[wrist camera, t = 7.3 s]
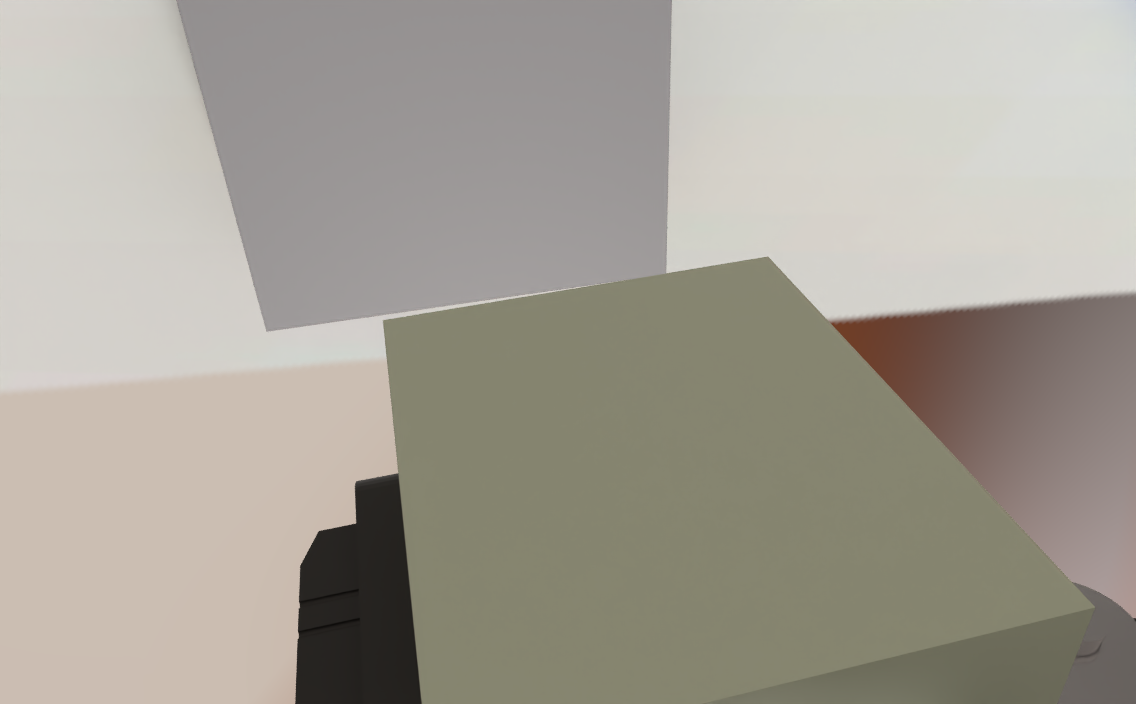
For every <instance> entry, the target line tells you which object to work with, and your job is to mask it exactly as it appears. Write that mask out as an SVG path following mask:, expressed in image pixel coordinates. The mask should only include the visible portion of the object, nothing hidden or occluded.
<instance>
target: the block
mask: <svg viewBox="0 0 1136 704" xmlns="http://www.w3.org/2000/svg"><path fill="white" fill-rule="evenodd" d="M383 325H384V335H385V345H386V355H387V365H388V374H389V384H390V393H391V394H390V395H391V404H392V414H393V424H394V433H395V444H396V453H397V463H398V474H399V484H400V493H401V503H402V513H403V523H404V533H405V543H406V553H407V563H408V573H409V582H410V592H411V602H412V612H413V622H414V632H415V642H416V652H417V662H418V671H419V681H420V691H421V701H422V704H1057V703H1058V700H1059V698H1060V695H1061V693H1062V690H1063V688H1064V685H1065V683H1066V680H1067V678H1068V675H1069V673H1070V670H1071V668H1072V665H1073V663H1074V660H1075V658H1076V655H1077V652H1078V650H1079V647H1080V645H1081V642H1082V640H1083V637H1084V635H1085V632H1086V630H1087V627H1088V625H1089V622H1090V620H1091V617H1092V615H1093V612H1094V610H1095V606H1094V605H1093V604H1092V603H1091V602H1090V601H1089V600H1088V599H1087V598H1086V597H1085V596H1084V595H1083V594H1082V592H1081V591H1080V590H1079V589H1078V588H1077V587H1076V586H1075V585H1074V584H1073V583H1072V582H1071V581H1070V580H1069V579H1068V577H1066V575H1065V574H1064V573H1063V572H1062V571H1061V570H1060V569H1059V568H1058V567H1057V566H1056V565H1055V564H1054V562H1052V560H1051V559H1050V558H1049V557H1048V556H1047V555H1046V554H1045V553H1044V552H1043V551H1042V550H1041V549H1040V548H1039V546H1038V545H1037V544H1036V543H1035V542H1034V541H1033V540H1032V539H1031V538H1030V537H1029V536H1028V535H1027V534H1026V533H1025V531H1024V530H1023V529H1022V528H1021V527H1020V526H1019V525H1018V524H1017V523H1016V522H1015V521H1014V520H1013V519H1012V517H1011V516H1010V515H1009V514H1008V513H1007V512H1006V511H1005V510H1004V509H1003V508H1002V507H1001V506H1000V505H999V504H998V503H997V501H996V500H995V499H994V498H993V497H992V496H991V495H990V494H989V493H988V492H987V491H986V490H985V489H984V487H983V486H981V484H980V483H979V482H978V481H977V480H976V479H975V478H974V477H973V476H972V475H971V474H970V472H968V470H967V469H966V468H965V467H964V466H963V465H962V464H961V463H960V462H959V461H958V460H957V459H956V457H955V456H954V455H953V454H952V453H951V452H950V451H949V450H948V449H947V448H946V447H945V446H944V445H943V444H942V443H941V442H940V440H939V439H938V438H937V437H936V436H935V435H934V434H933V433H932V432H931V431H930V430H929V429H928V427H927V426H926V425H925V424H924V423H923V422H922V421H921V420H920V419H919V418H918V417H917V416H916V415H915V414H914V413H913V412H912V410H911V409H910V408H909V407H908V406H907V405H906V404H905V403H904V402H903V401H902V400H901V399H900V398H899V397H898V395H897V394H896V393H895V392H894V391H893V390H892V389H891V388H890V387H889V386H888V385H887V384H886V383H885V381H883V379H882V378H881V377H880V376H879V375H878V374H877V373H876V372H875V371H874V370H873V369H872V368H871V366H870V365H869V364H868V363H867V362H866V361H865V360H864V359H863V358H862V357H861V356H860V355H859V354H858V353H857V351H856V350H855V349H854V348H853V347H852V346H851V345H850V344H849V343H848V342H847V341H846V340H845V339H844V338H843V336H842V335H841V334H840V333H839V332H838V331H837V330H836V329H835V328H834V327H833V326H832V325H831V324H830V323H829V321H828V320H827V319H826V318H825V317H824V316H823V315H822V314H821V313H820V312H819V311H818V310H817V309H816V308H815V306H814V305H813V304H812V303H811V302H810V301H809V300H808V299H807V298H806V297H805V296H804V295H803V294H802V293H801V291H800V290H799V289H798V288H797V287H796V286H795V285H794V284H793V283H792V282H791V281H790V280H789V279H788V278H787V276H786V275H785V274H784V273H783V272H782V271H781V270H780V269H779V268H778V267H777V266H776V265H775V264H774V263H773V261H772V260H771V259H770V258H769V257H763V258H757V259H751V260H745V261H739V262H733V263H727V264H721V265H715V266H709V267H703V268H697V269H691V270H685V271H678V272H672V273H666V274H660V275H654V276H648V277H642V278H636V279H630V280H624V281H618V282H612V283H606V284H600V285H594V286H588V287H582V288H576V289H570V290H564V291H558V292H552V293H546V294H539V295H533V296H527V297H521V298H515V299H509V300H503V301H497V302H491V303H485V304H479V305H473V306H467V307H461V308H455V309H449V310H443V311H437V312H431V313H425V314H419V315H413V316H407V317H400V318H394V319H388V320H383Z"/></svg>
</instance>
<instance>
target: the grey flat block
mask: <svg viewBox="0 0 1136 704" xmlns="http://www.w3.org/2000/svg"><path fill="white" fill-rule="evenodd" d="M176 1H177V4H178V8H179V12H180V15H181V19H182V23H183V26H184V30H185V34H186V37H187V41H188V45H189V48H190V52H191V56H192V59H193V63H194V67H195V70H196V74H197V78H198V81H199V85H200V89H201V92H202V96H203V100H204V103H205V107H206V111H207V114H208V118H209V122H210V125H211V129H212V133H213V136H214V140H215V144H216V147H217V151H218V155H219V158H220V162H221V166H222V169H223V173H224V177H225V180H226V184H227V188H228V192H229V195H230V199H231V203H232V206H233V210H234V214H235V217H236V221H237V225H238V228H239V232H240V236H241V239H242V243H243V247H244V250H245V254H246V258H247V261H248V265H249V269H250V272H251V276H252V280H253V283H254V287H255V291H256V294H257V298H258V302H259V305H260V309H261V313H262V316H263V320H264V324H265V327H266V331H267V332H268V331H275V330H281V329H288V328H295V327H302V326H309V325H316V324H323V323H330V322H337V321H344V320H351V319H358V318H365V317H372V316H379V315H386V314H393V313H400V312H407V311H414V310H421V309H428V308H435V307H442V306H449V305H456V304H463V303H469V302H476V301H483V300H490V299H497V298H504V297H511V296H518V295H525V294H532V293H539V292H546V291H553V290H560V289H567V288H574V287H581V286H588V285H595V284H602V283H609V282H616V281H623V280H630V279H636V278H642V277H648V276H654V275H660V274H666V254H667V205H668V156H669V107H670V59H671V10H672V0H176Z"/></svg>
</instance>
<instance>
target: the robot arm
mask: <svg viewBox="0 0 1136 704" xmlns="http://www.w3.org/2000/svg"><path fill="white" fill-rule="evenodd" d="M355 498H356V524H352V525H348V526H342V527H337V528H333V529H327V530H323V531H319V532H318V534H317V536H316V538H315V539H314V541H313V543H312V545H311V547H310V549H309V551H308V552H307V555H306V556H305V558H304V560H303V562H302V564H301V566H300V592H299V603H300V608H299V619H298V633H299V639H298V647H297V673H296V674H297V675H296V703H295V704H422V701H421V691H420V681H419V671H418V662H417V652H416V642H415V632H414V622H413V612H412V602H411V592H410V582H409V573H408V563H407V553H406V543H405V533H404V523H403V513H402V503H401V493H400V484H399V474H393V475H387V476H382V477H377V478H372V479H366V480H361V481H357V482H356V484H355ZM1072 583H1073V582H1072ZM1073 584H1074V585H1075V586H1076V587H1077V588H1078V589H1079V590H1080V591H1081V592H1082V594H1083V595H1084V596H1085V597H1086V598H1087V599H1088V600H1089V601H1090V602H1091V603H1092V604H1093V605H1094V606H1095V610H1094V612H1093V615H1092V617H1091V620H1090V622H1089V625H1088V627H1087V630H1086V632H1085V635H1084V637H1083V640H1082V642H1081V645H1080V647H1079V650H1078V652H1077V655H1076V658H1075V660H1074V663H1073V665H1072V668H1071V670H1070V673H1069V675H1068V678H1067V680H1066V683H1065V685H1064V688H1063V690H1062V693H1061V695H1060V698H1059V700H1058V703H1057V704H1136V618H1132V617H1131V616H1130V615H1129V614H1128V613H1127V612H1126V611H1125V610H1124V609H1123V608H1122V607H1121V606H1119V605H1118V604H1117V603H1115V602H1114V601H1112V600H1111V599H1110V598H1108V597H1106V596H1104V595H1103V594H1101V593H1099V592H1097V591H1095V590H1093V589H1090V588H1088V587H1086V586H1083V585H1080V584H1077V583H1073Z"/></svg>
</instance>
